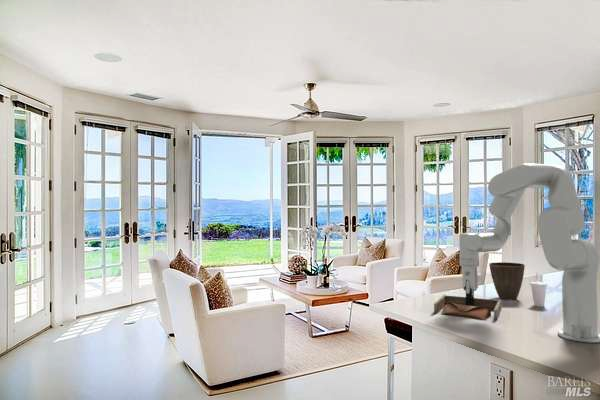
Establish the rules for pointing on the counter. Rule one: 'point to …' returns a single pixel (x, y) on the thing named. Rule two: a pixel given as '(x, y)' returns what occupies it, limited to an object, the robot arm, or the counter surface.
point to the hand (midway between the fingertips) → (470, 306)
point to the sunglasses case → (466, 311)
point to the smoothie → (538, 292)
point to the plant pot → (507, 279)
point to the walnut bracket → (478, 302)
